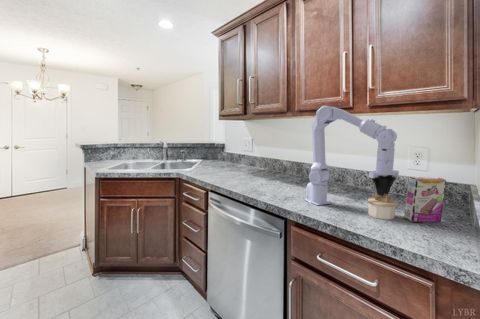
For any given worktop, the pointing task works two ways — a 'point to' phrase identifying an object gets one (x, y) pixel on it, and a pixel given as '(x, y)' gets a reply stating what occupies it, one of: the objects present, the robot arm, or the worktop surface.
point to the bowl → (381, 212)
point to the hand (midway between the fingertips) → (382, 194)
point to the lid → (383, 200)
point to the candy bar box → (424, 199)
